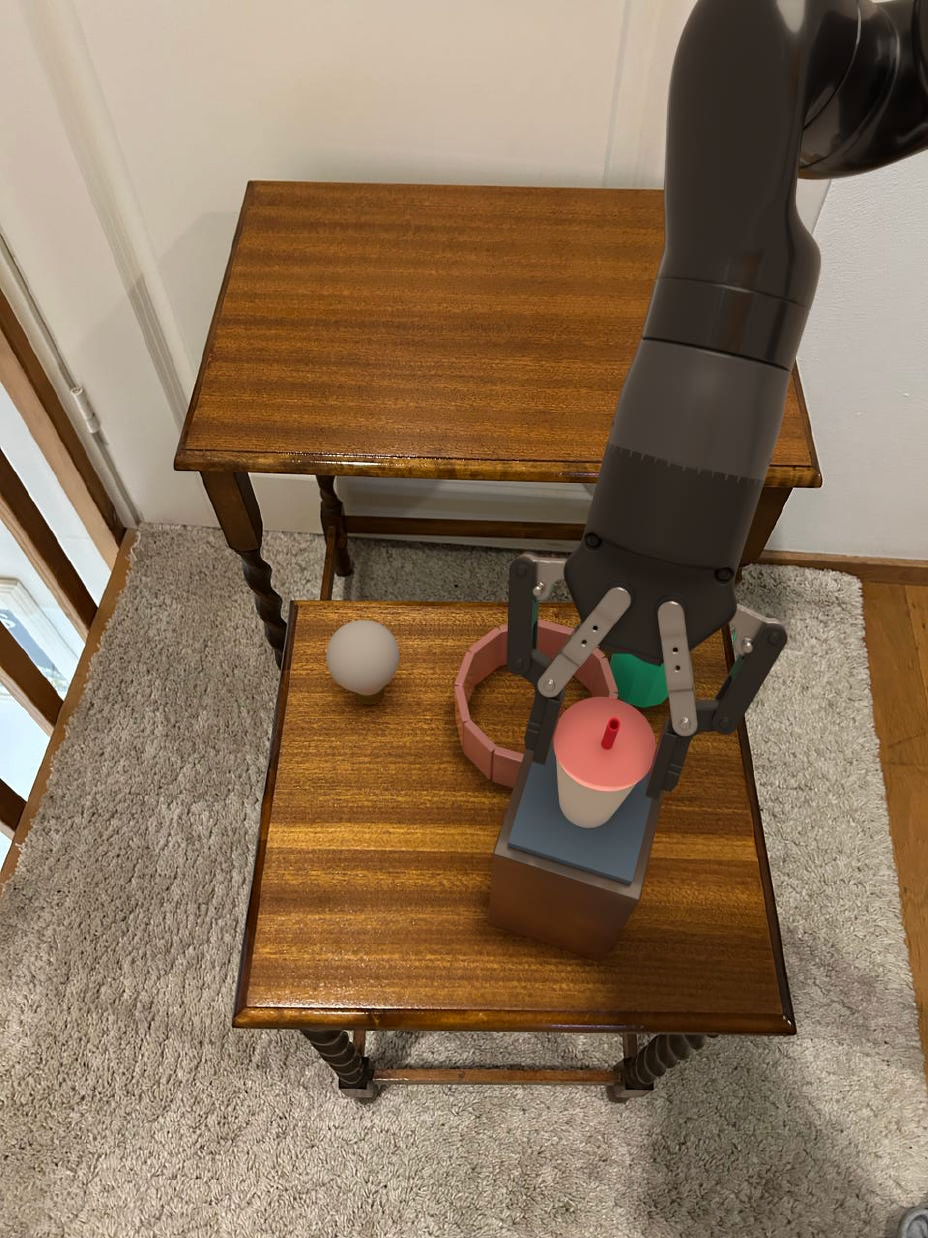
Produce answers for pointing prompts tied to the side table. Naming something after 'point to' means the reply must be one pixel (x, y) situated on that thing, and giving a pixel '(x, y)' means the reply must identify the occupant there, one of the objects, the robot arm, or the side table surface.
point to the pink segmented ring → (494, 654)
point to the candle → (638, 680)
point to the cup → (600, 757)
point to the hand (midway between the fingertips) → (596, 774)
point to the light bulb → (363, 659)
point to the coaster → (579, 828)
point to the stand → (561, 890)
